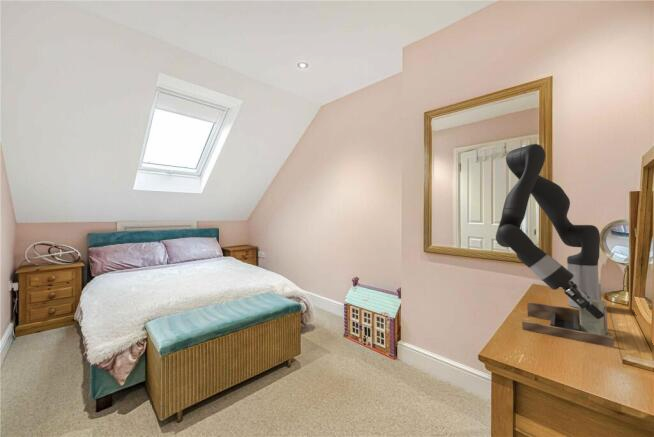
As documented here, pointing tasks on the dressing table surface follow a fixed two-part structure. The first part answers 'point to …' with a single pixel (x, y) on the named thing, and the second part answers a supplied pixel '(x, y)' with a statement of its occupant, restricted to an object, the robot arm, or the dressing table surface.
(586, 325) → the skincare box
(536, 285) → the dressing table surface
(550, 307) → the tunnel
